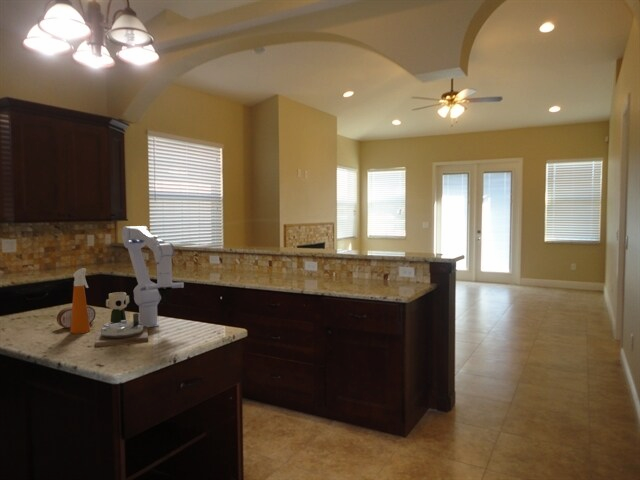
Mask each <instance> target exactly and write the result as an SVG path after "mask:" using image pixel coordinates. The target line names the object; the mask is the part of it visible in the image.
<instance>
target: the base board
mask: <svg viewBox="0 0 640 480" xmlns="http://www.w3.org/2000/svg"><path fill="white" fill-rule="evenodd" d="M143 342H144V343H145V342H149V335H148V327H147V326H143V332H142V333H141V334H139V335H136V336H132V337H127V338H104V337H102V336H101V329H99V330H97V334H96V338H95V341H94V346H95V348H96V347H107V346H113V345H114V346H115V345H125V344H133V343H143Z"/></svg>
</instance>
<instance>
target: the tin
mask: <svg viewBox="0 0 640 480" xmlns="http://www.w3.org/2000/svg"><path fill="white" fill-rule="evenodd" d="M87 311H88V318H89V325H90V324H91V323H93V322H94V320H95V319H96V315H97V314H96V310H95V309H94V307H92V306H90V305H88V304H87ZM71 317H72V306H69V307H65V308H63V309H61V310H60V311H59V312H58V314H57V316H56V323H57V324H58V325H59V326H60V327H63V328H65V329H71Z"/></svg>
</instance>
